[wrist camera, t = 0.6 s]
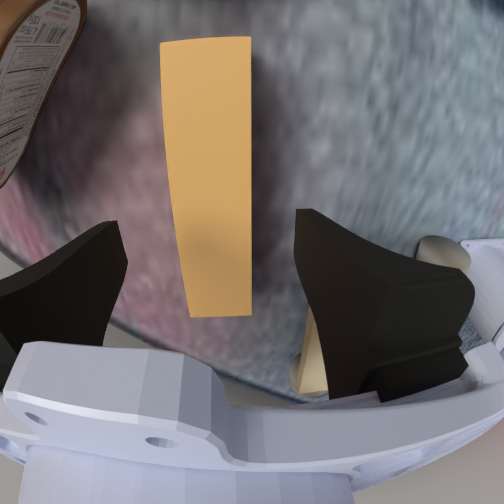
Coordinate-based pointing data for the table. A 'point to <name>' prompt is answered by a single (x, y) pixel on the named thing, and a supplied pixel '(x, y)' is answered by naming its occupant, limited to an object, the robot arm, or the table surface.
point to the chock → (210, 169)
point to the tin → (31, 66)
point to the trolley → (311, 360)
